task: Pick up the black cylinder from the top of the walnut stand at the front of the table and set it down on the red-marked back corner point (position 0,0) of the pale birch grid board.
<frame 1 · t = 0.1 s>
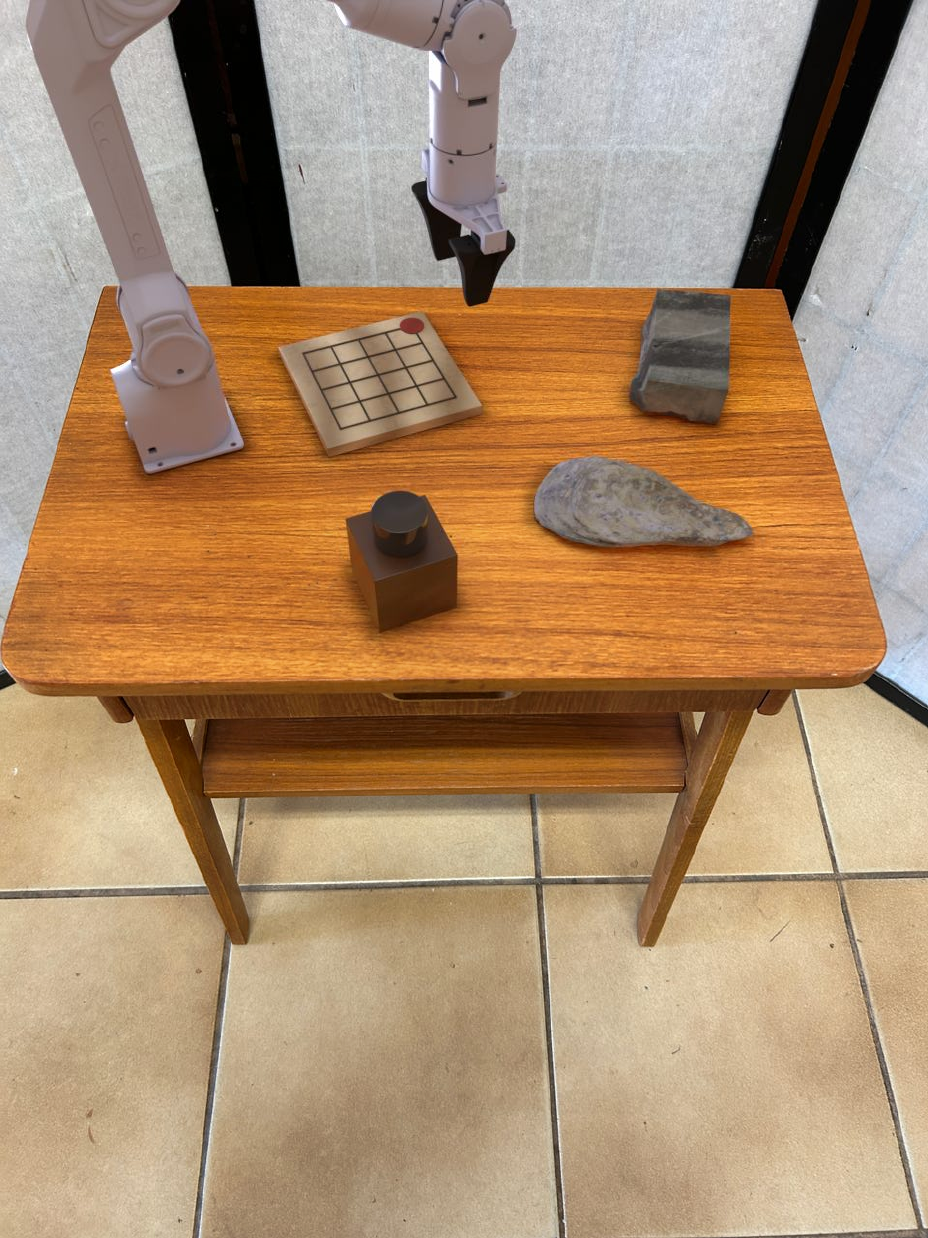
hand: (460, 279, 91), 10 cm above the table, tool pointing down, fingers open, 7 cm apart
stone block: (674, 375, 99), on the table
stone: (640, 518, 87), on the table
grid board: (378, 384, 97), on the table
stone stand: (403, 589, 82), on the table
black cylinder: (400, 536, 76), point 7 cm above the table, touching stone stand
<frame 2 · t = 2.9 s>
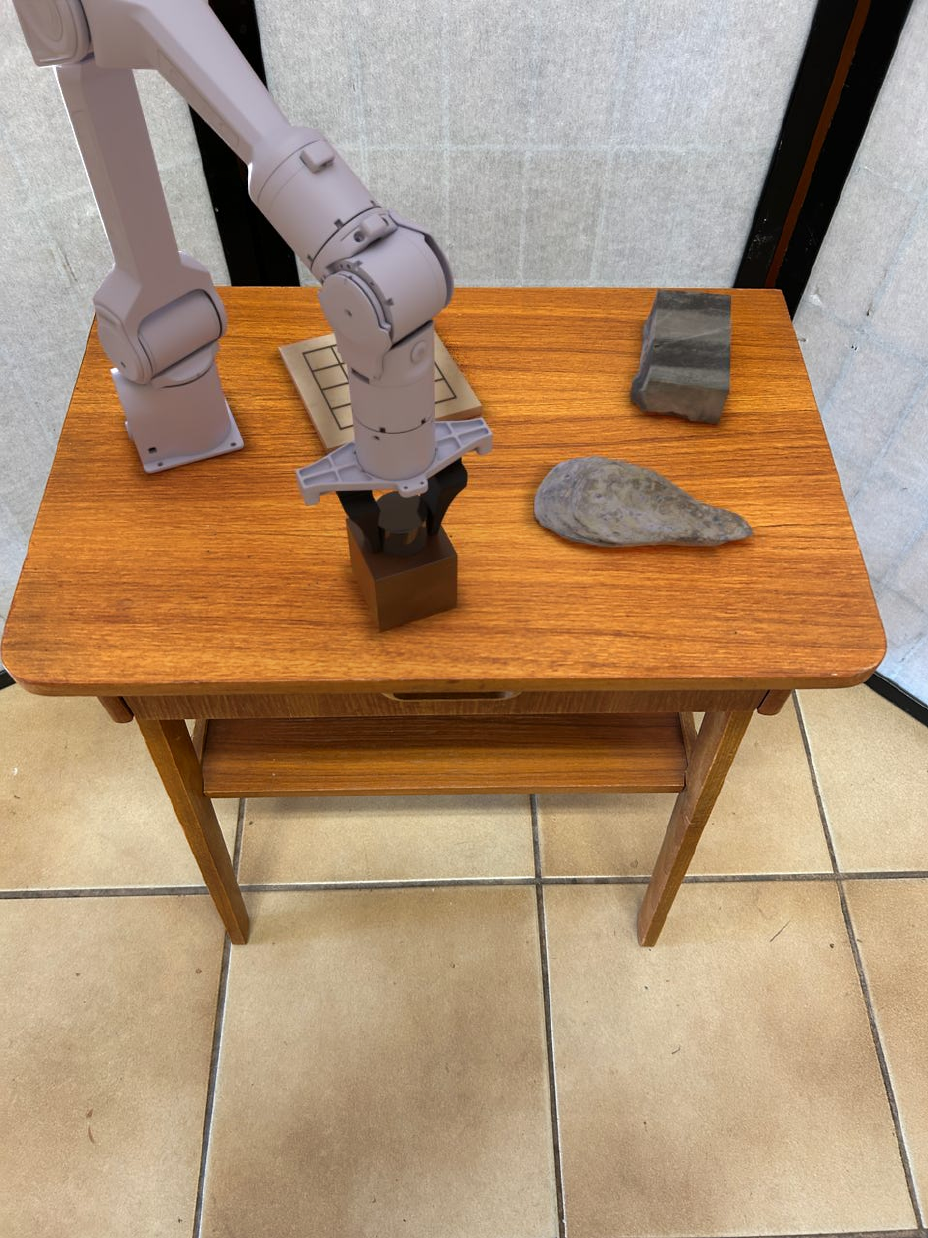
hand: (400, 534, 76), 7 cm above the table, tool pointing down, fingers closed on black cylinder, 4 cm apart
black cylinder: (401, 536, 76), point 7 cm above the table, touching gripper, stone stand
everything else where it was.
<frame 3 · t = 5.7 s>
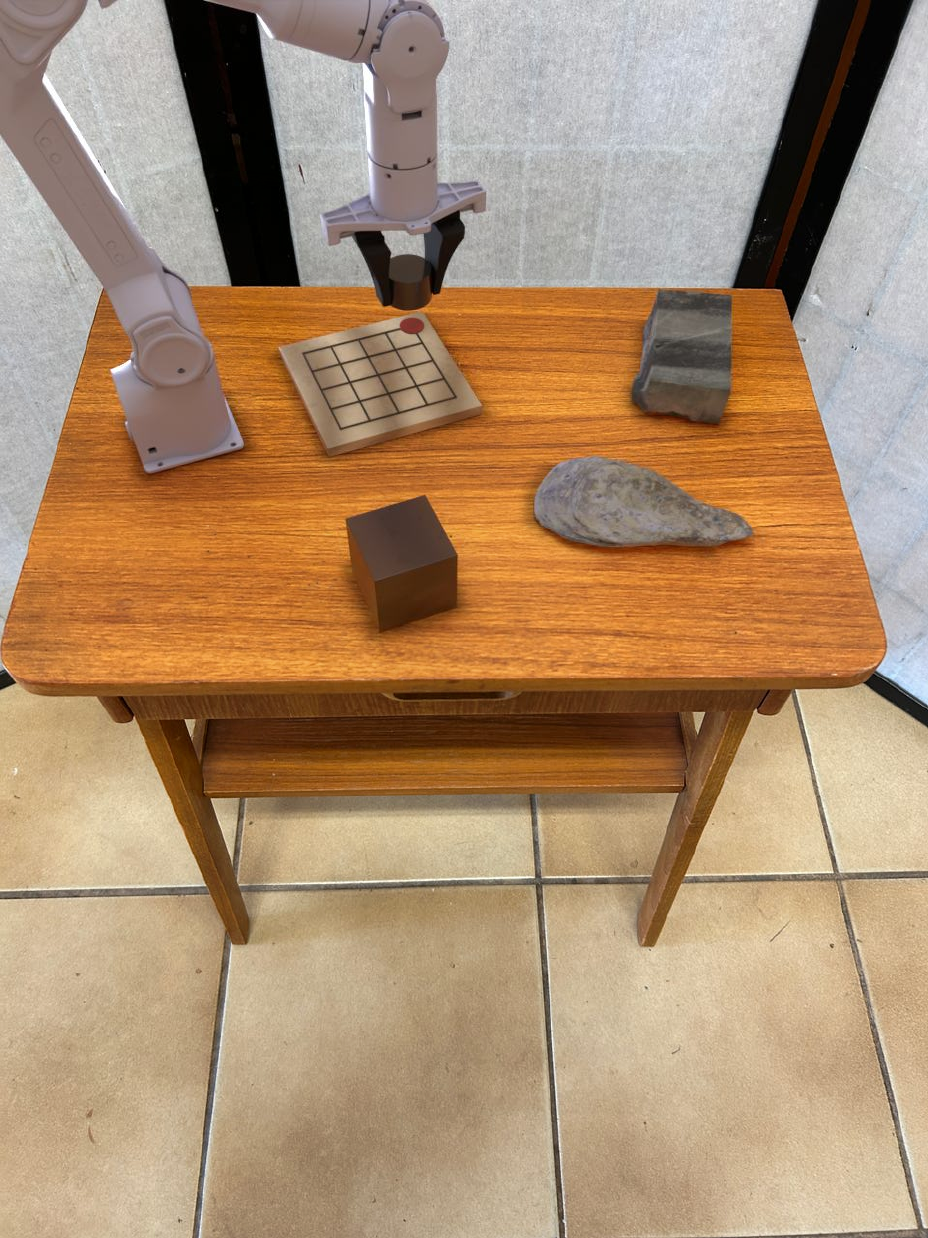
hand: (407, 294, 89), 10 cm above the table, tool pointing down, fingers closed on black cylinder, 4 cm apart
black cylinder: (408, 296, 89), point 10 cm above the table, touching gripper
everything else where it was.
when the fingers open (1 cm above the table, at t = 8.8 s): black cylinder stays where it is, resting on grid board.
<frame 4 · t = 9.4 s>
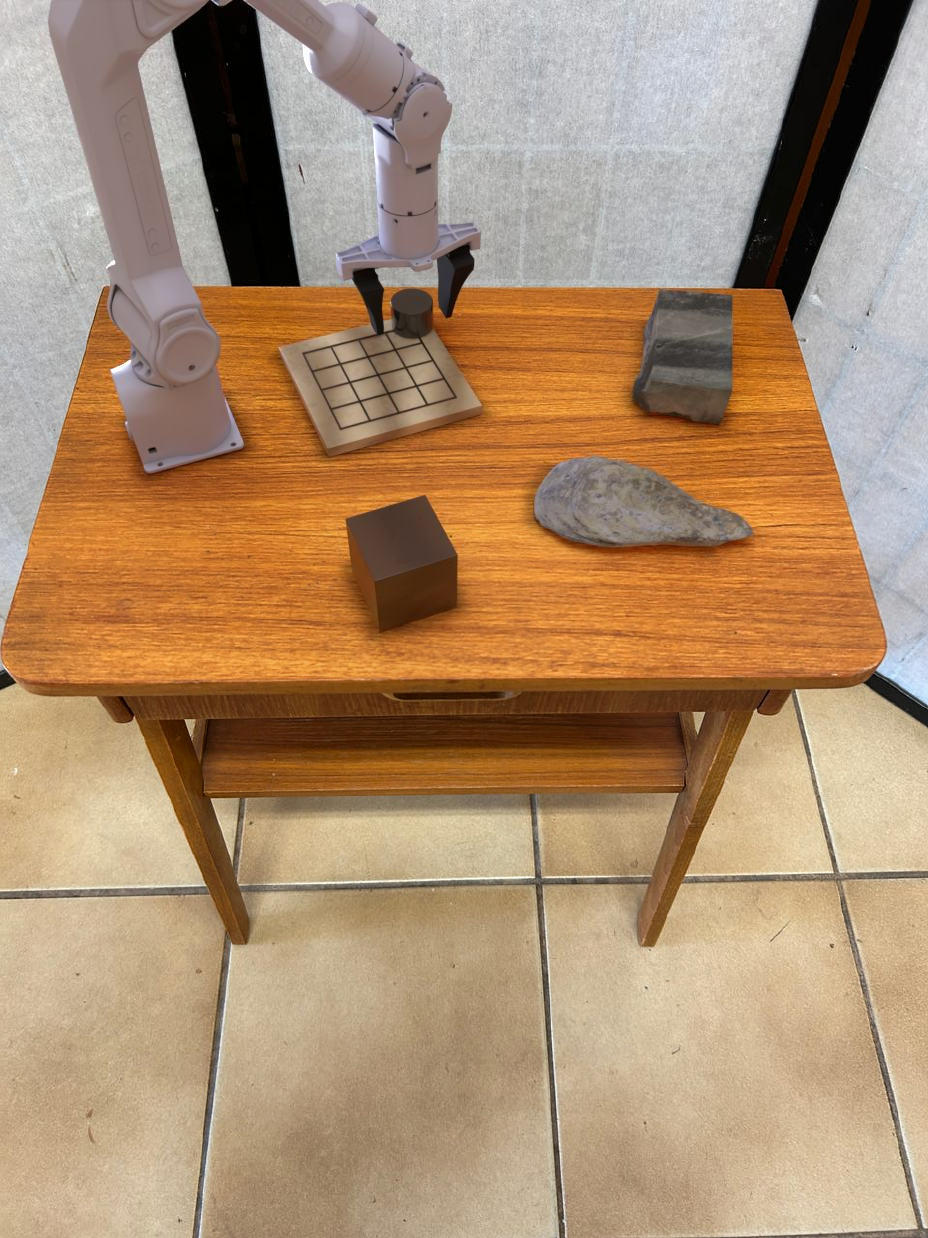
hand: (411, 320, 100), 2 cm above the table, tool pointing down, fingers open, 7 cm apart
black cylinder: (412, 325, 101), point 1 cm above the table, touching grid board
everything else where it was.
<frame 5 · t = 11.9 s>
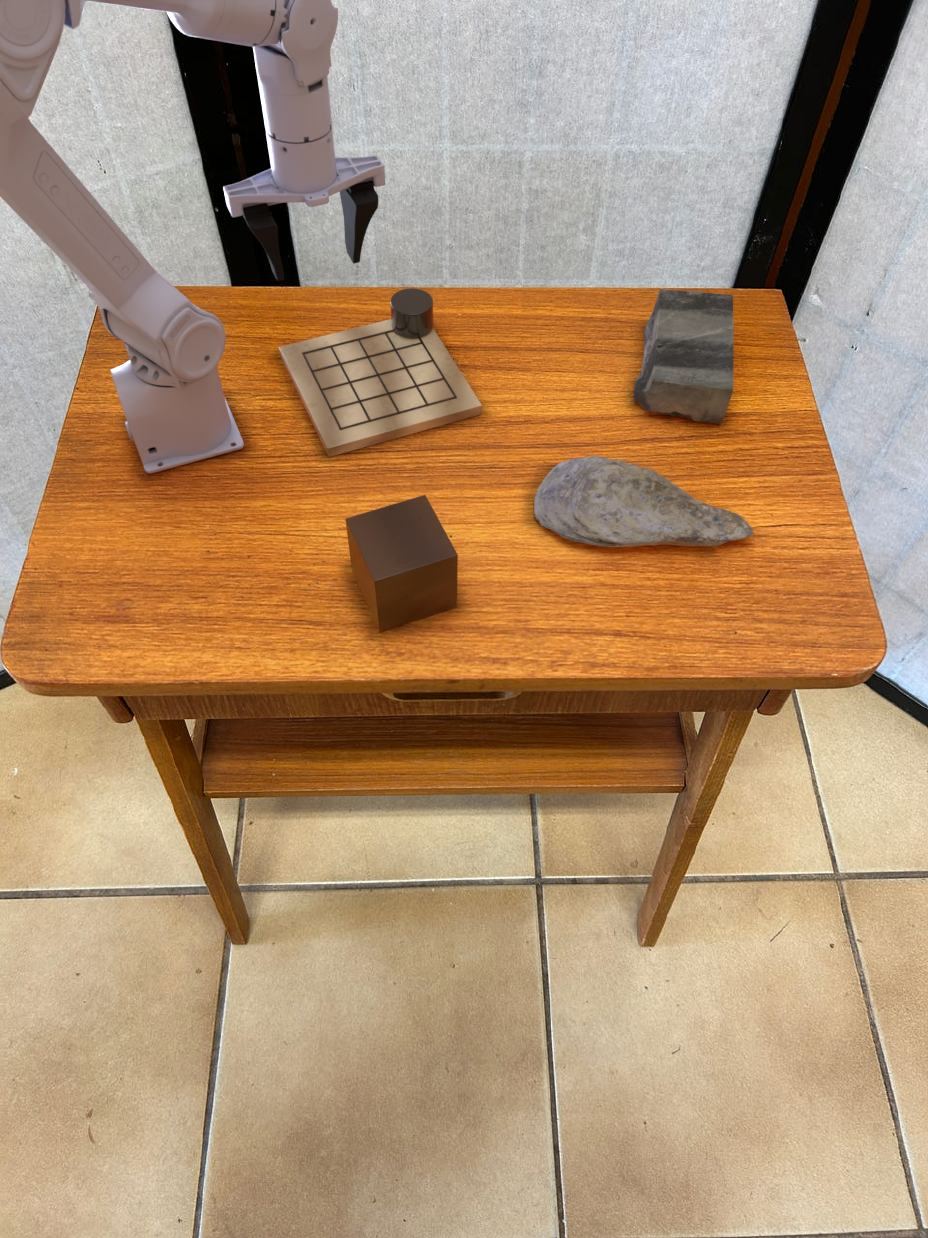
hand: (316, 265, 93), 9 cm above the table, tool pointing down, fingers open, 7 cm apart
nothing on the table moved.
at the end: black cylinder 0.1 cm from the target spot on the grid board, point 1.3 cm above the grid board's base; black cylinder tilted 0°; the gripper is holding nothing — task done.
